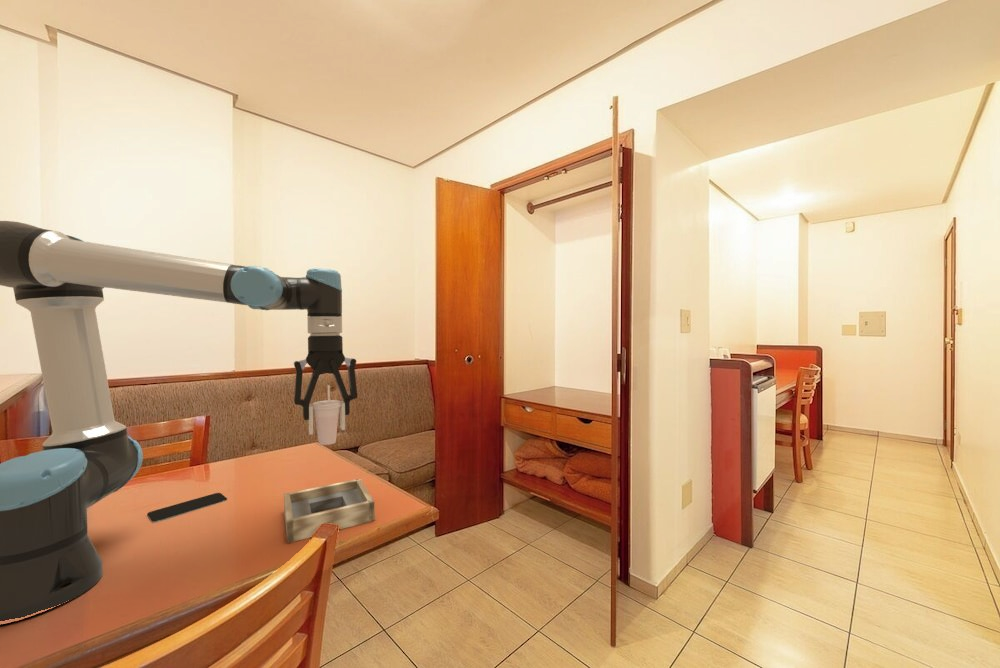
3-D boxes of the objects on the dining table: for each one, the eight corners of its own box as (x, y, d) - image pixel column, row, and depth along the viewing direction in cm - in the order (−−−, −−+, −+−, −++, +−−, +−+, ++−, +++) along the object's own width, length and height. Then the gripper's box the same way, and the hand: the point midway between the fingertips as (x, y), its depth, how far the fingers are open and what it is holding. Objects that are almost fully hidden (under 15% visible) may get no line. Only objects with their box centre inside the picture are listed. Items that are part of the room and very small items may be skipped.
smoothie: (332, 447, 88) (331, 386, 87) (306, 446, 88) (305, 386, 88) (346, 439, 94) (345, 382, 94) (322, 438, 95) (321, 382, 94)
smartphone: (228, 499, 101) (152, 522, 89) (228, 501, 101) (152, 524, 89) (219, 491, 105) (146, 512, 93) (219, 494, 105) (146, 515, 93)
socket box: (287, 543, 80) (286, 522, 80) (284, 512, 94) (283, 494, 94) (374, 520, 90) (374, 501, 90) (360, 494, 103) (360, 478, 103)
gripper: (279, 335, 83) (281, 441, 83) (370, 334, 93) (372, 428, 93) (278, 335, 89) (280, 433, 89) (363, 333, 99) (365, 421, 99)
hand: (327, 430), depth 91 cm, fingers closed on smoothie, 6 cm apart
